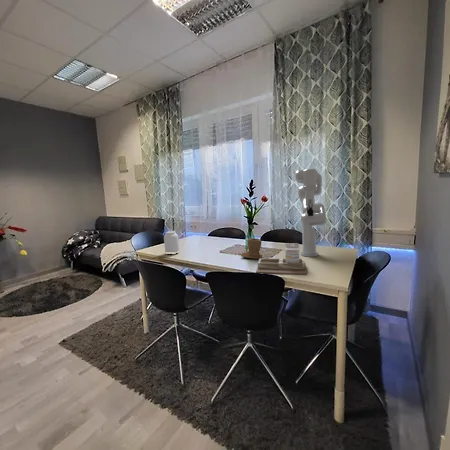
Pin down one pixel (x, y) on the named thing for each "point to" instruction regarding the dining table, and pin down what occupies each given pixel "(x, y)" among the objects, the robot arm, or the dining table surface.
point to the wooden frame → (281, 267)
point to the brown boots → (253, 249)
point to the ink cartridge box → (292, 253)
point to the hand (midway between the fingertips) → (310, 214)
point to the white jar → (171, 242)
